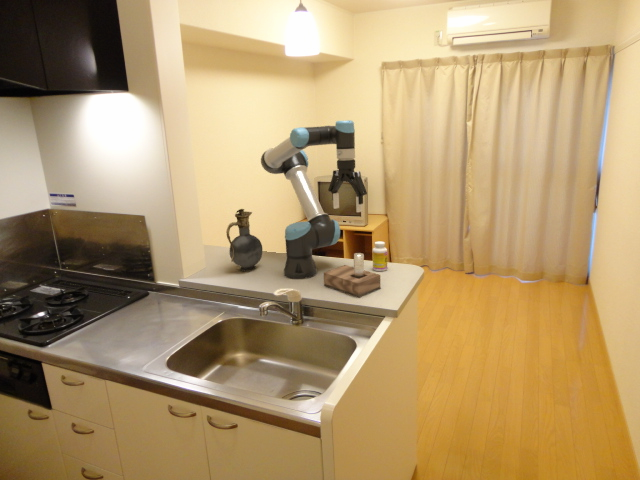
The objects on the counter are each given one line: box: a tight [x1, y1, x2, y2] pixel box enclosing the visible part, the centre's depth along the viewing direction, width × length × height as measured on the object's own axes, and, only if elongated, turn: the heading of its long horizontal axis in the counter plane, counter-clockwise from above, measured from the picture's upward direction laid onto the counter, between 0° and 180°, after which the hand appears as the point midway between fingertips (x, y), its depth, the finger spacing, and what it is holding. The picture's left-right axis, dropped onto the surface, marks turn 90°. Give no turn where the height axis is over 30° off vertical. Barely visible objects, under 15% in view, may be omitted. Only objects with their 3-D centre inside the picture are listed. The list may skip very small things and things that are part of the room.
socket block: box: [323, 264, 382, 298], centre depth 188 cm, size 20×13×6 cm, turn 42°
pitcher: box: [226, 208, 263, 272], centre depth 214 cm, size 11×19×30 cm, turn 146°
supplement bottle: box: [372, 240, 388, 272], centre depth 208 cm, size 7×7×13 cm
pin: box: [353, 252, 365, 279], centre depth 184 cm, size 4×4×14 cm
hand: (347, 210), depth 191 cm, fingers open, 13 cm apart
